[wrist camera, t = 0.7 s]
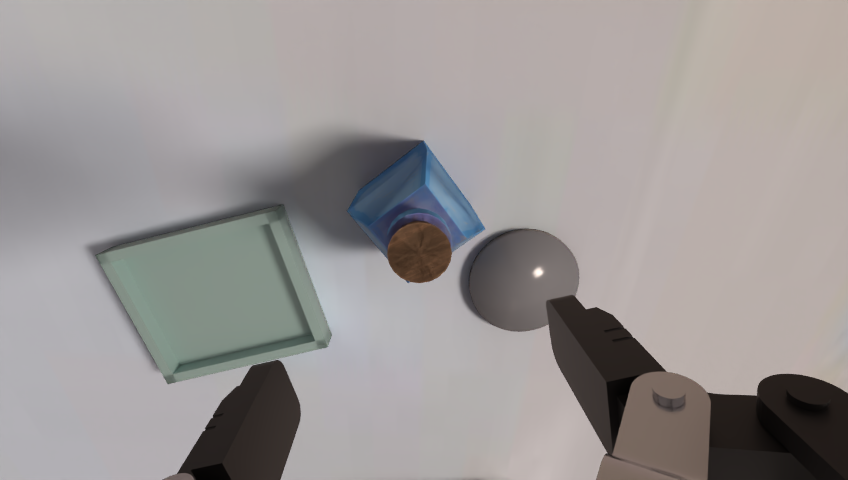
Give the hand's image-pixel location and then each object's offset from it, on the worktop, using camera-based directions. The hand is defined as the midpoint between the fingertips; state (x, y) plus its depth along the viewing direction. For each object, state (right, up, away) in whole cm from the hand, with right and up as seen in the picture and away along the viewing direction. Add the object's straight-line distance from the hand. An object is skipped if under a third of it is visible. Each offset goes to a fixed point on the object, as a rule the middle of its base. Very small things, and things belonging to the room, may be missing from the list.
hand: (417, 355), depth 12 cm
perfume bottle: (0, +7, +19) cm, 20 cm away
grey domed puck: (+8, 0, +22) cm, 23 cm away
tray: (-16, -1, +21) cm, 26 cm away
